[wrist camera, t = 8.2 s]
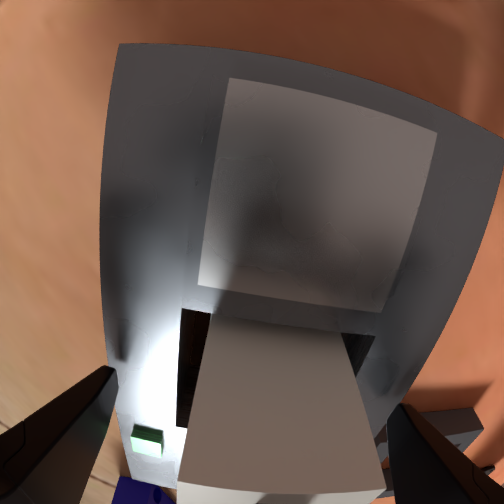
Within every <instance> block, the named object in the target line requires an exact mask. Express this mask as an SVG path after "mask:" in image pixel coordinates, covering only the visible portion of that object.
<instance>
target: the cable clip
mask: <svg viewBox="0 0 504 504" xmlns="http://www.w3.org/2000/svg"><path fill="white" fill-rule="evenodd" d="M111 504H176V503H174V502H173V501H172V500H171V499H170V498H169V497H168V496H167V495H166V494H165V493H164V491H163V490H162V489H161V488H160V487H159V486H158V485H155V484H150V483H146V482H142V481H139V480H135V479H132V478H129V477H122V476H120V477H119V480H118V483H117V487H116V490H115V493H114V497H113V500H112V503H111Z"/></svg>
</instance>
